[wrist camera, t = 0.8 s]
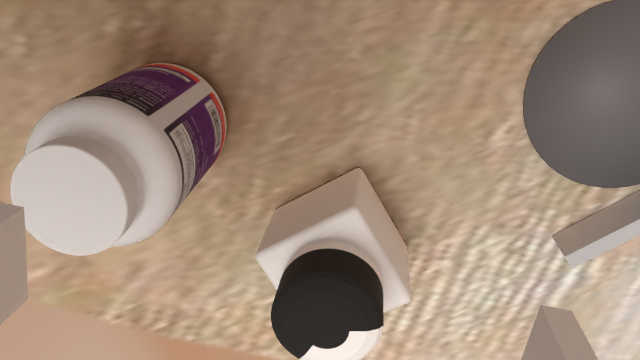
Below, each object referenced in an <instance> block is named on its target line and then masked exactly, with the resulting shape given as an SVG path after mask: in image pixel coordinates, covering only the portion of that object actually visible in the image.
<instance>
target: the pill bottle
mask: <svg viewBox="0 0 640 360" xmlns="http://www.w3.org/2000/svg"><path fill="white" fill-rule="evenodd" d="M226 131H227V123H226V116H225V112H224V108H223V106H222V103H221V101H220V99H219V97H218V95H217V94H216V92H215V91H214V89H213V88H212V87H211V86H210V85H209V84H208V83H207V82H206V81H205V80H204V79H203V78H202V77H201V76H199V75H198V74H196V73H195V72H193V71H191V70H189V69H187V68H185V67H182V66H179V65H175V64H170V63H153V64H147V65H144V66H141V67H138V68H136V69H133V70H131V71H129V72H128V73H125V74H123V75H121V76H119V77H117V78H115V79H113V80H111V81H109V82H106V83H104V84H102V85H100V86H98V87H96V88H94V89H92V90H90V91H87V92H85V93H83V94H81V95H79V96H77V97H75V98H72V99H70V100H68V101H66V102H63V103H61V104H60V105H58V106H56V107H54V108H53V109H51V110H50V111H49V112H47V113H46V114H45V115H44V116H43V117H42V118H41V119H40V120H39V121H38V123H37V124H36V126H35V127H34V129H33V131H32V133H31V135H30V137H29V140H28V142H27V145H26V149H25V155H24V157H23V158H22V159H21V161H20V162H19V163H18V165H17V166H16V168H15V170H14V172H13V175H12V178H11V185H10V194H11V200H12V204H13V205H16V206H21V207H24V215H25V228H26V230H27V231H28V232H29V233H30V234H31V235H32V236H33V237H34V238H35V239H37V240H38V241H39V242H41V243H42V244H44V245H45V246H47V247H49V248H51V249H53V250H56V251H58V252H61V253H65V254H69V255H76V256H86V255H93V254H96V253H100V252H102V251H104V250H106V249H108V248H109V247H120V246H127V245H131V244H135V243H138V242H140V241H143V240H145V239H147V238H149V237H150V236H152V235H153V234H155V233H156V232H157V231H158V230H160V229H161V228H162V227H163V226H164V225H165V223H166V222H167V221H168V220H169V219H170V217H171V216H172V215H173V214H174V212H175V211H176V210H177V208H178V207H179V206H180V205H181V203H182V202H183V201H184V199H185V198H186V197H187V196H188V194H189V193H190V192H191V191H192V189H193V188H194V187H195V186H196V184H197V183H198V182H199V181H200V179H201V178H202V177H203V176H204V174H205V173H206V172H207V170H208V169H209V168H210V167H211V166H212V164H213V163H214V162H215V161H216V159H217V157H218V156H219V154H220V152H221V150H222V148H223V146H224V142H225V139H226Z"/></svg>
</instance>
